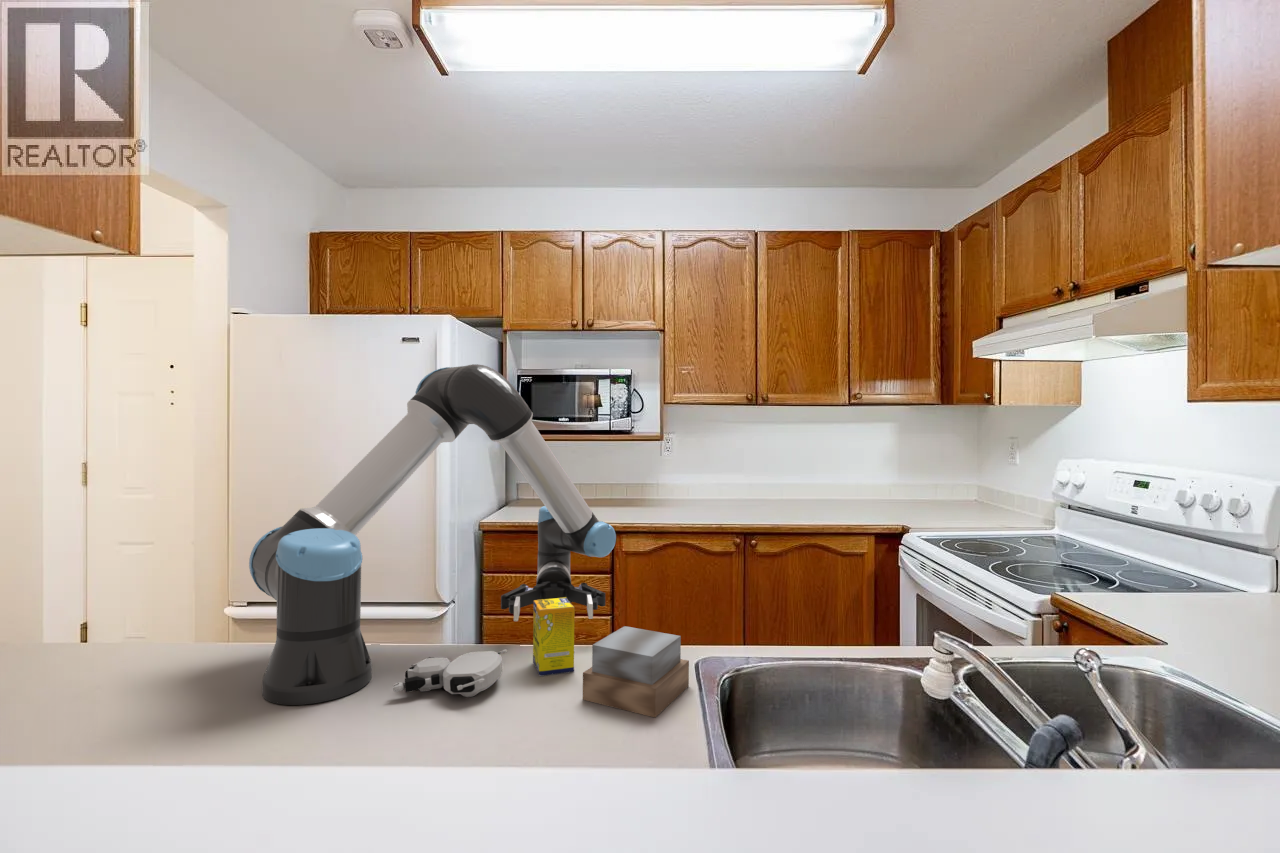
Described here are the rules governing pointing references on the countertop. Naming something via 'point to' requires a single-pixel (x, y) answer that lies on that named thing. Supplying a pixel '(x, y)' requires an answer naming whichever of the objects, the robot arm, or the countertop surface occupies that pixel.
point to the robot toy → (454, 673)
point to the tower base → (636, 691)
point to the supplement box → (553, 636)
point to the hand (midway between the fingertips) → (553, 612)
